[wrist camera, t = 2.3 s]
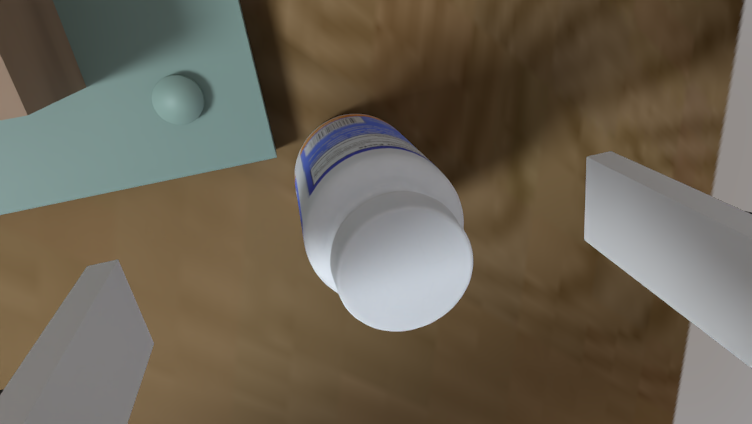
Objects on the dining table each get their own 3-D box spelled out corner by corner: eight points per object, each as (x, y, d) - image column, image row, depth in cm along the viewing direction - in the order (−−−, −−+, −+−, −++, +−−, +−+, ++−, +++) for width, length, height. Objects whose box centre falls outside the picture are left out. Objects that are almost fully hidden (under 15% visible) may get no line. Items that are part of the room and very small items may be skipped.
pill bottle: (394, 231, 24) (468, 361, 15) (283, 216, 23) (295, 349, 14) (423, 122, 22) (526, 200, 14) (305, 98, 21) (335, 167, 12)
